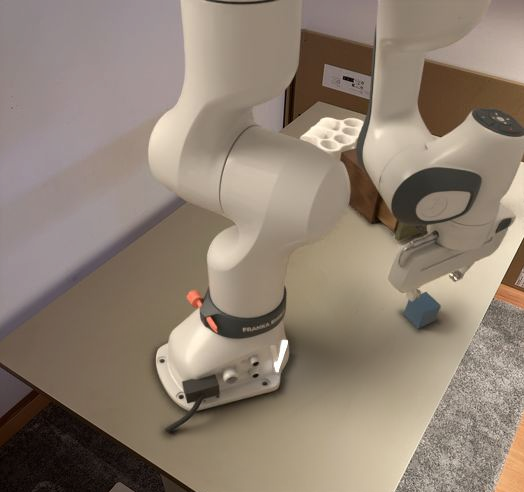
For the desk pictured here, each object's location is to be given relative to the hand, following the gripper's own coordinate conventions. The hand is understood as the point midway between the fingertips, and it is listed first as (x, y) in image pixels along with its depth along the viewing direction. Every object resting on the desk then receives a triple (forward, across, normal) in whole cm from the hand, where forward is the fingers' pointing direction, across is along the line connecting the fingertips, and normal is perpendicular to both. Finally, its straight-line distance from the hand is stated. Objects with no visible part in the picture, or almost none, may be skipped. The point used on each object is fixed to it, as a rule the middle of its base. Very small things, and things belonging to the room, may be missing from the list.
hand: (433, 287), depth 85 cm
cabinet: (+8, +14, +33) cm, 37 cm away
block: (+8, -1, 0) cm, 8 cm away
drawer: (+7, +14, +22) cm, 27 cm away
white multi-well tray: (+9, +19, +57) cm, 61 cm away
